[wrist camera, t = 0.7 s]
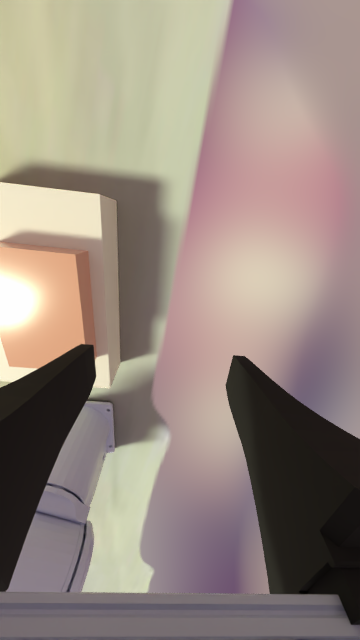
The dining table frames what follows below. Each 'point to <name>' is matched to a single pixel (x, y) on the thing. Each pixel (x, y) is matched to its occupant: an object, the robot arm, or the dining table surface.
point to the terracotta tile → (44, 303)
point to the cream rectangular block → (72, 233)
